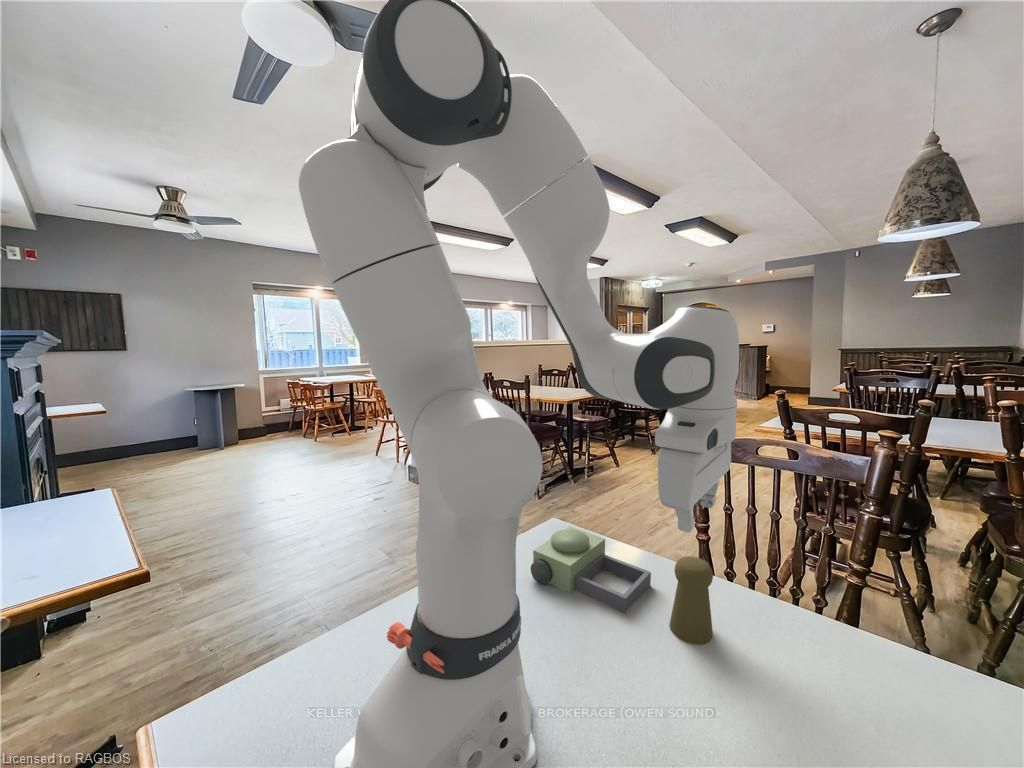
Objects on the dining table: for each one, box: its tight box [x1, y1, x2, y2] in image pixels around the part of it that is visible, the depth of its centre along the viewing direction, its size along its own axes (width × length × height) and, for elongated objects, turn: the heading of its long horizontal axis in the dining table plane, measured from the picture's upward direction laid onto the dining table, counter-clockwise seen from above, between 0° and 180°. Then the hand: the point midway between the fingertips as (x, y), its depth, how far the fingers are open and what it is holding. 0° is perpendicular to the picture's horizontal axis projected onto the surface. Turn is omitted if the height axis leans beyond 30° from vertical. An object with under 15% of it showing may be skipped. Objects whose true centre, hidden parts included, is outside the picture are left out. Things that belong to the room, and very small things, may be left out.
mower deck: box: [530, 526, 652, 614], centre depth 77 cm, size 14×18×6 cm
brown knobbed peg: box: [669, 555, 714, 646], centre depth 64 cm, size 6×6×11 cm
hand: (697, 517), depth 62 cm, fingers open, 8 cm apart
